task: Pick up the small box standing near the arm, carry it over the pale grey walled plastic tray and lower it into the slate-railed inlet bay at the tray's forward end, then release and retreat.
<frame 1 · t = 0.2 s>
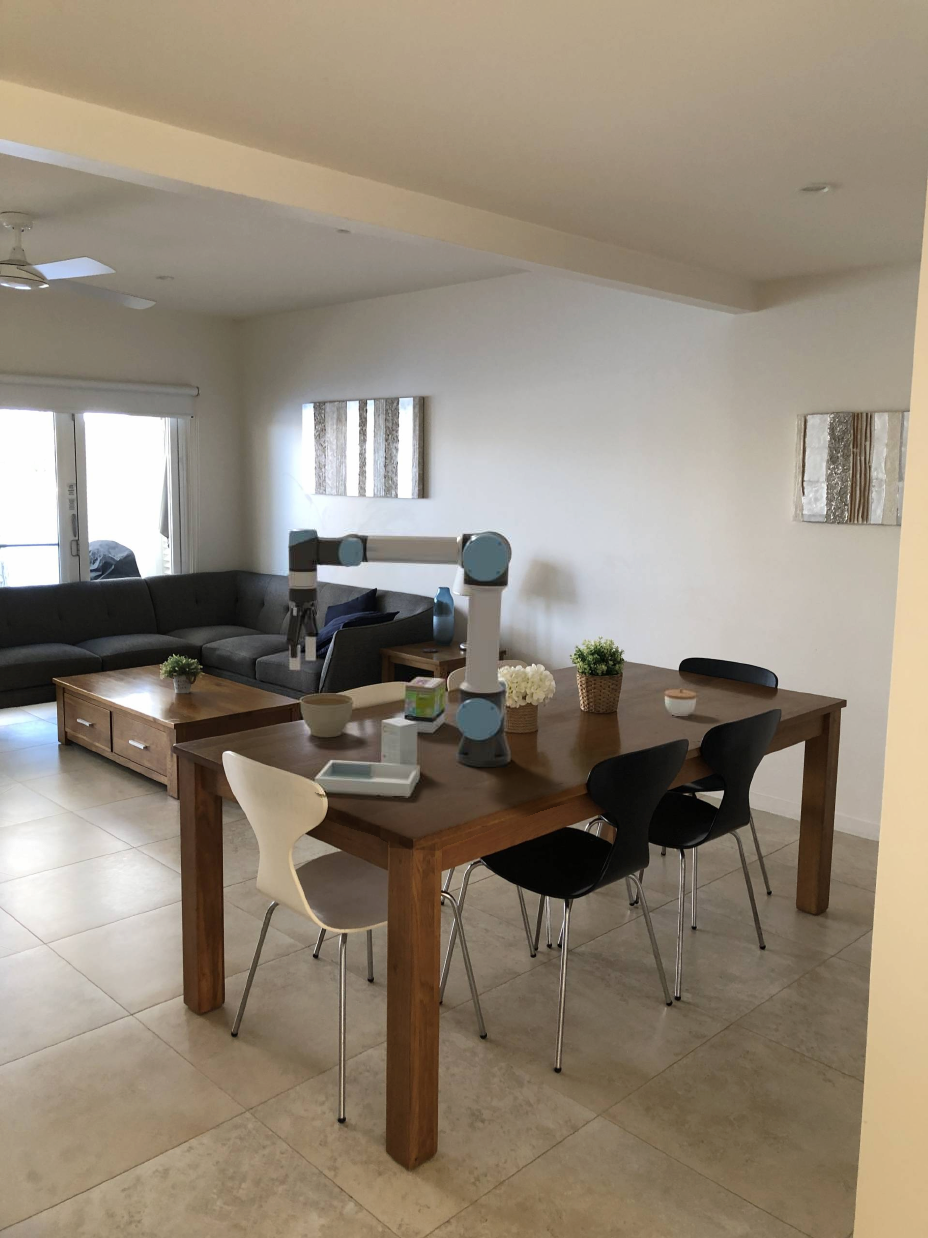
hand: (302, 665, 266), 28 cm above the table, fingers open, 13 cm apart
small box: (398, 768, 269), on the table
tea box: (424, 727, 313), on the table
lidded jar: (679, 715, 337), on the table
planter bowl: (326, 734, 301), on the table
tray: (368, 784, 253), on the table
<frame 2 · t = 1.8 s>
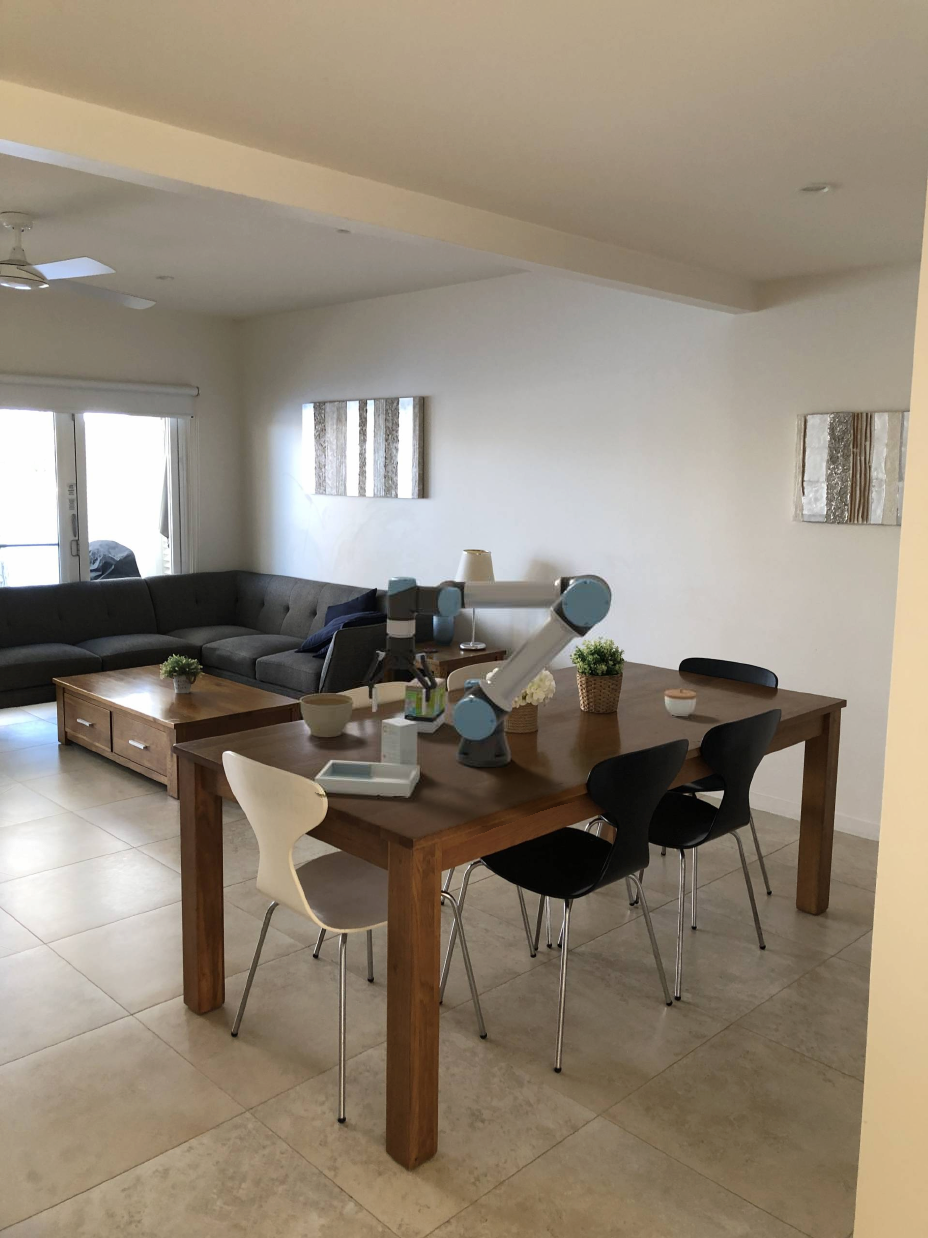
hand: (399, 712, 266), 15 cm above the table, fingers open, 13 cm apart
nothing on the table moved.
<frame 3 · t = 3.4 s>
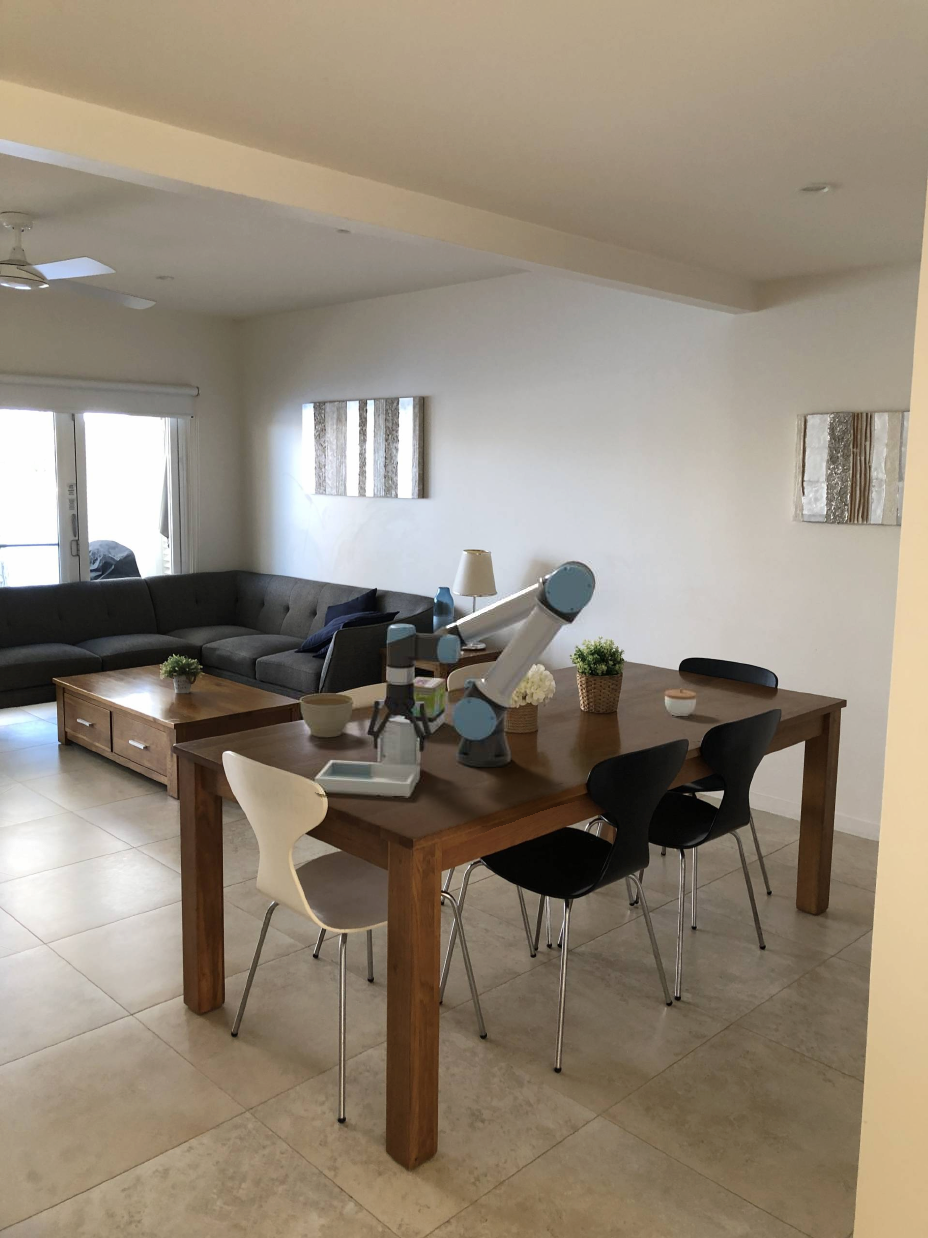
hand: (398, 761, 268), 2 cm above the table, fingers closed on small box, 10 cm apart
small box: (398, 768, 269), on the table, touching gripper
everything else where it was.
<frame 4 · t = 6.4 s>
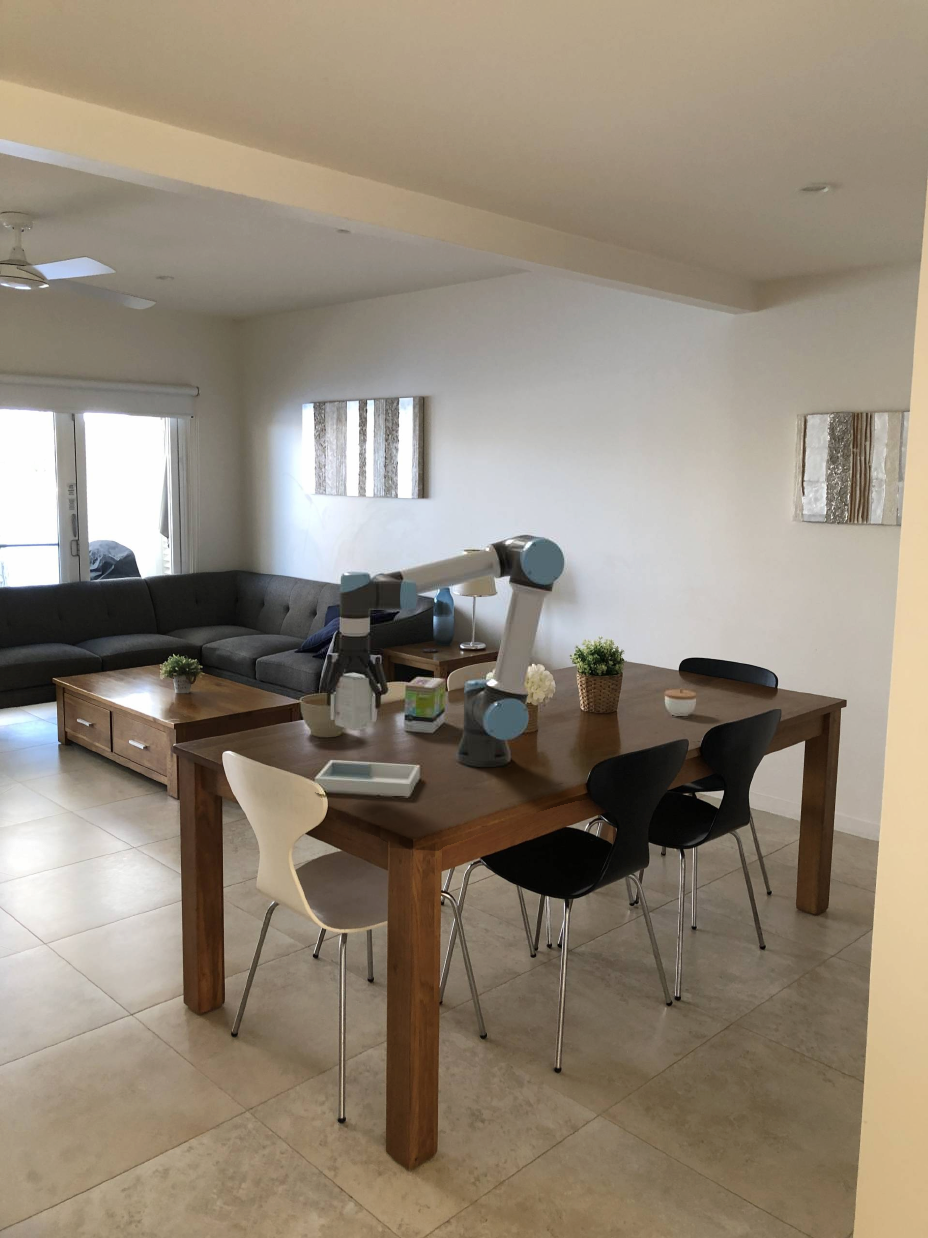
hand: (353, 719, 251), 17 cm above the table, fingers closed on small box, 10 cm apart
small box: (353, 726, 252), point 15 cm above the table, touching gripper
everything else where it was.
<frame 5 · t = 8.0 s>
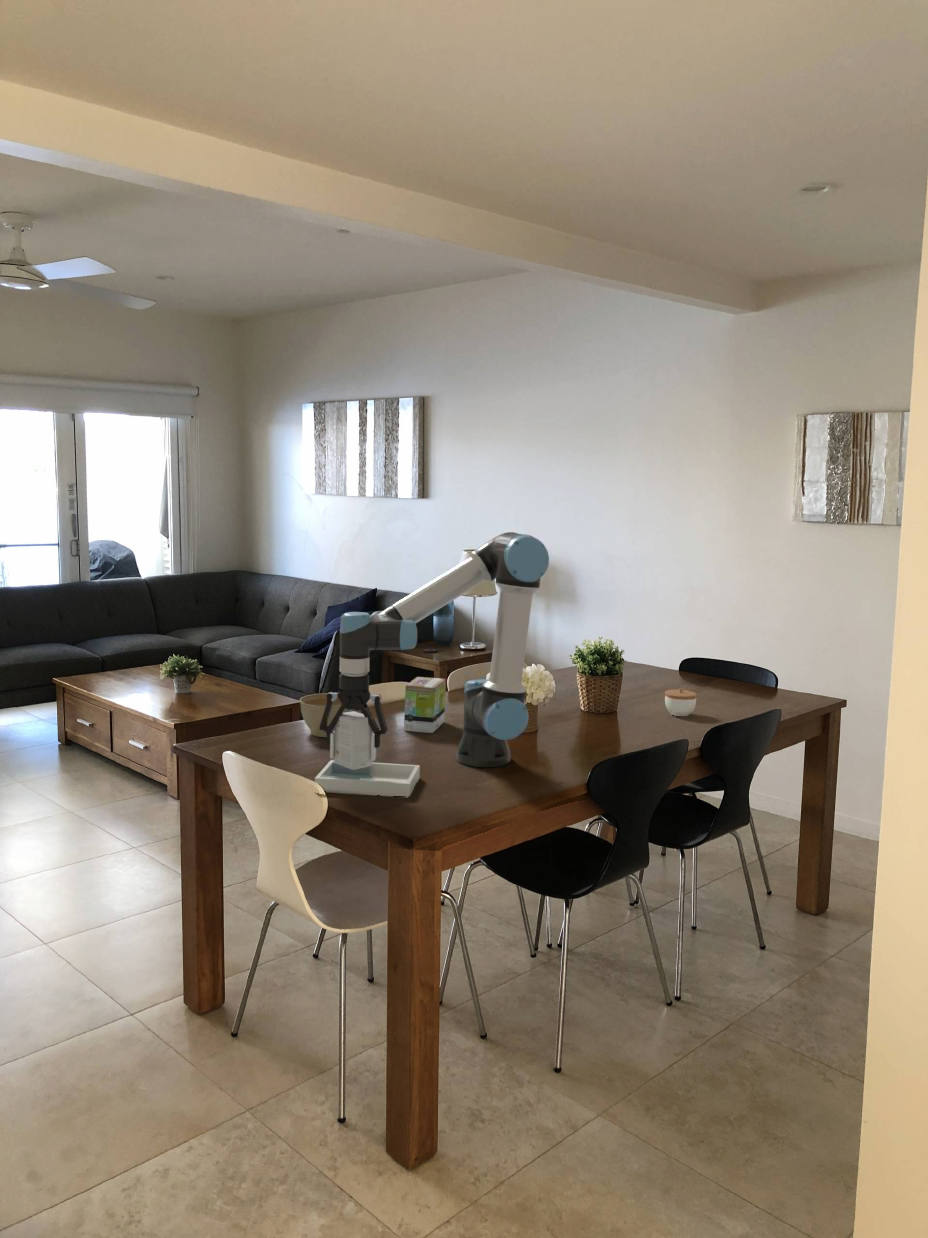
hand: (353, 758, 253), 7 cm above the table, fingers closed on small box, 10 cm apart
small box: (353, 765, 253), point 5 cm above the table, touching gripper
everything else where it was.
when the fingers open (4 cm above the table, at t = 9.2 s): small box drops 1 cm, resting on tray.
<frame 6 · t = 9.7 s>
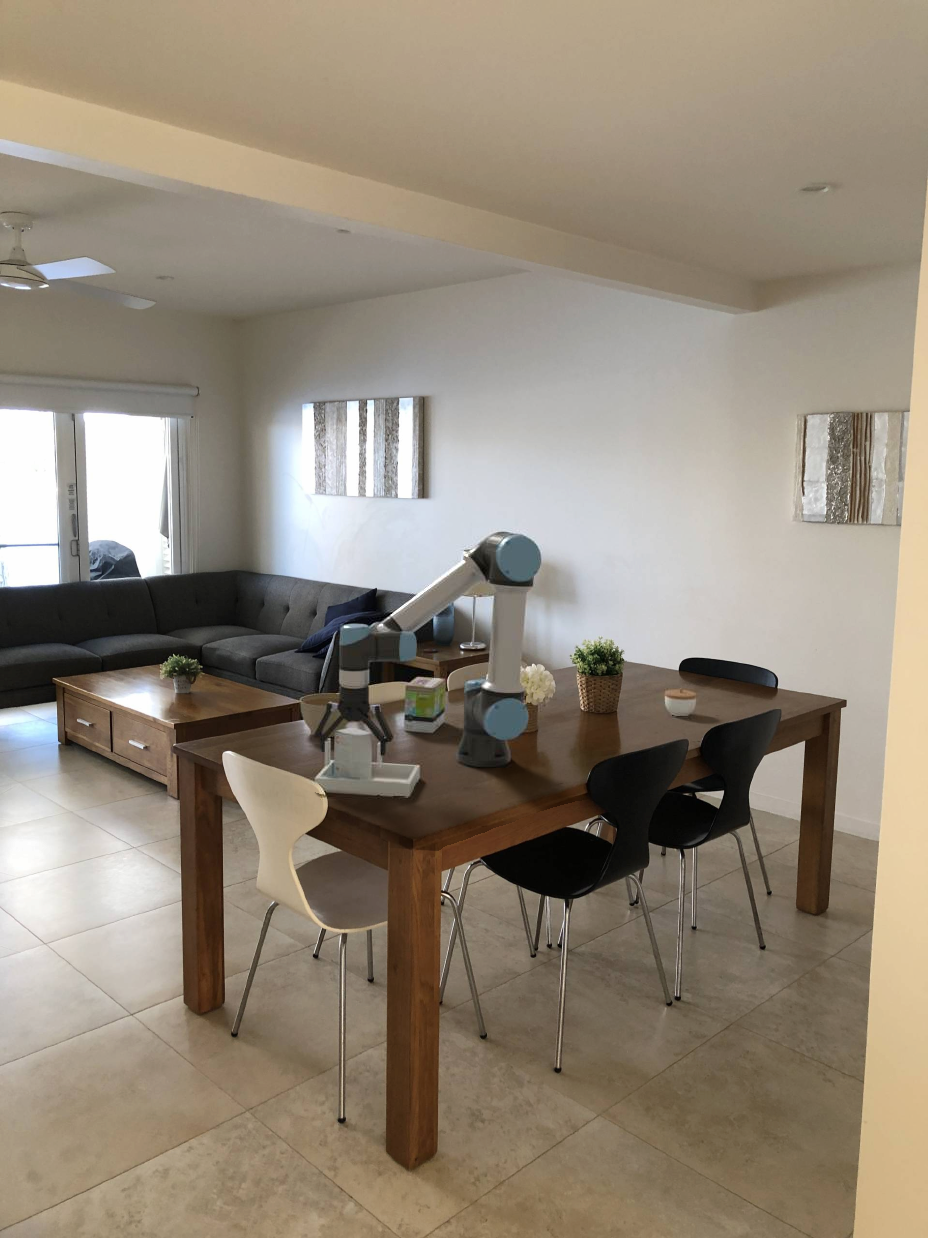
hand: (353, 766, 253), 5 cm above the table, fingers open, 13 cm apart
small box: (352, 781, 254), resting on tray
everything else where it was.
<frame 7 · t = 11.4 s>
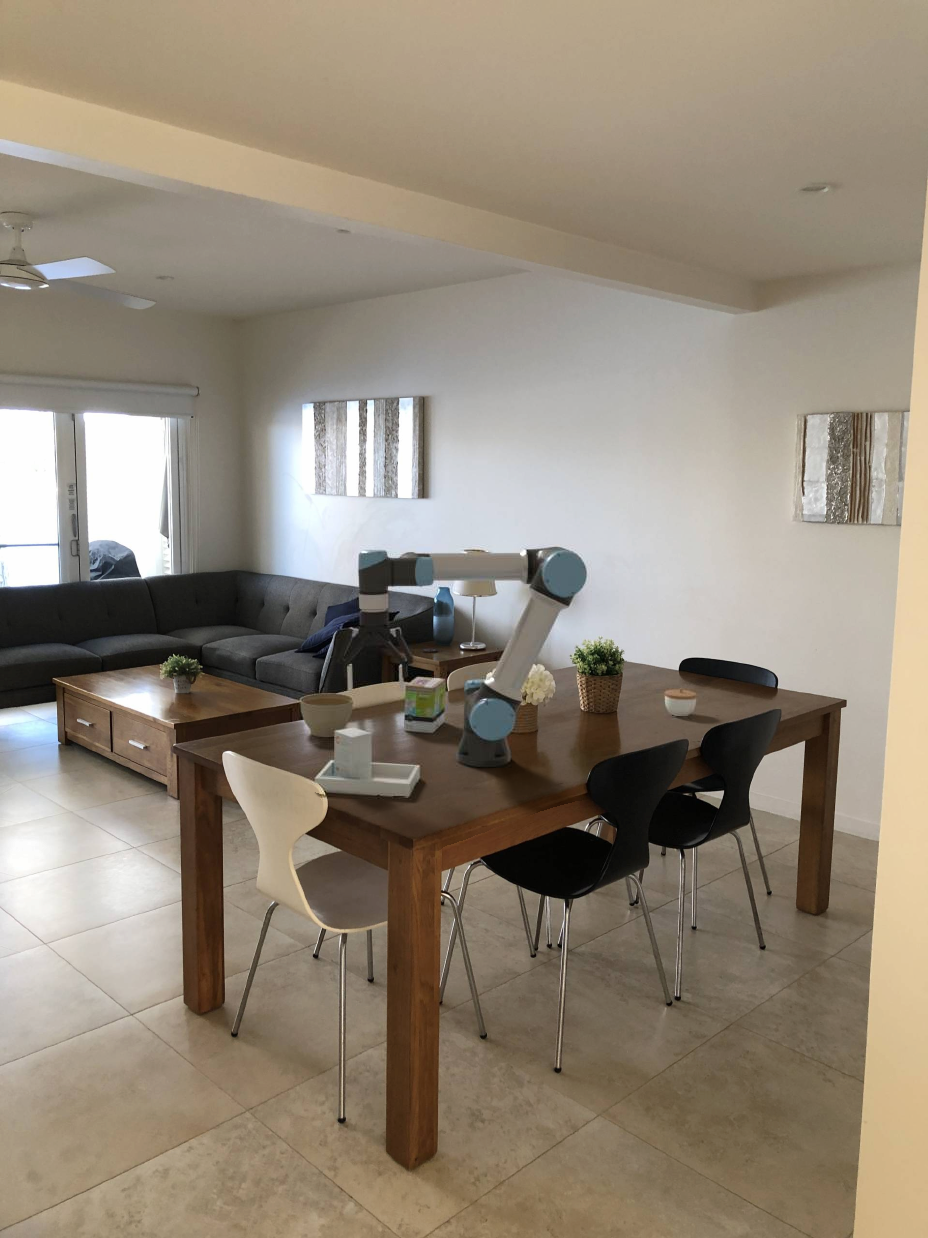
hand: (375, 689, 259), 23 cm above the table, fingers open, 13 cm apart
nothing on the table moved.
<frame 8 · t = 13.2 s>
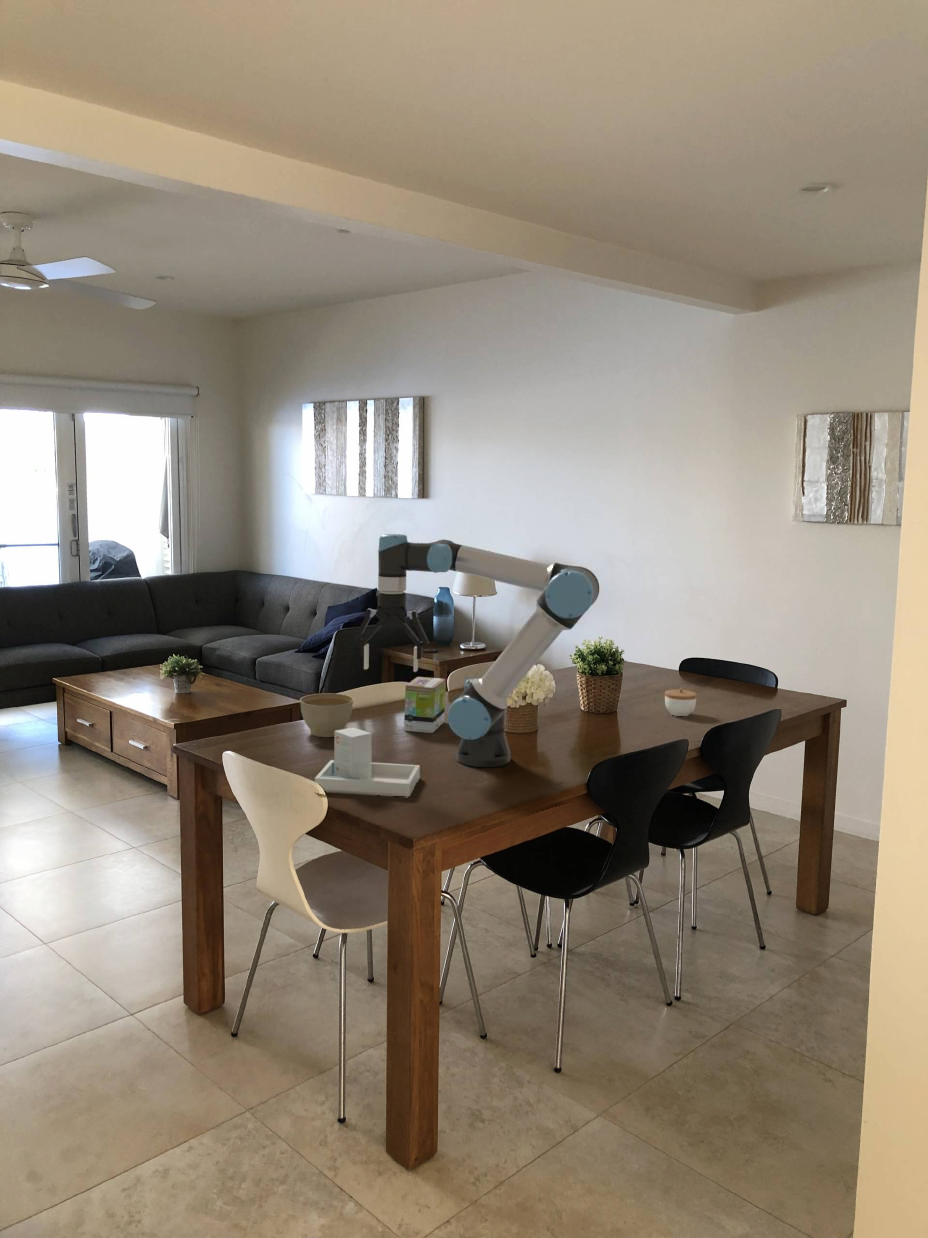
hand: (390, 669, 267), 27 cm above the table, fingers open, 13 cm apart
nothing on the table moved.
at the end: small box inside the target area on the tray (0.2 cm from its centre), point 0.5 cm above the tray's base; small box tilted 0°; the gripper is holding nothing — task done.
